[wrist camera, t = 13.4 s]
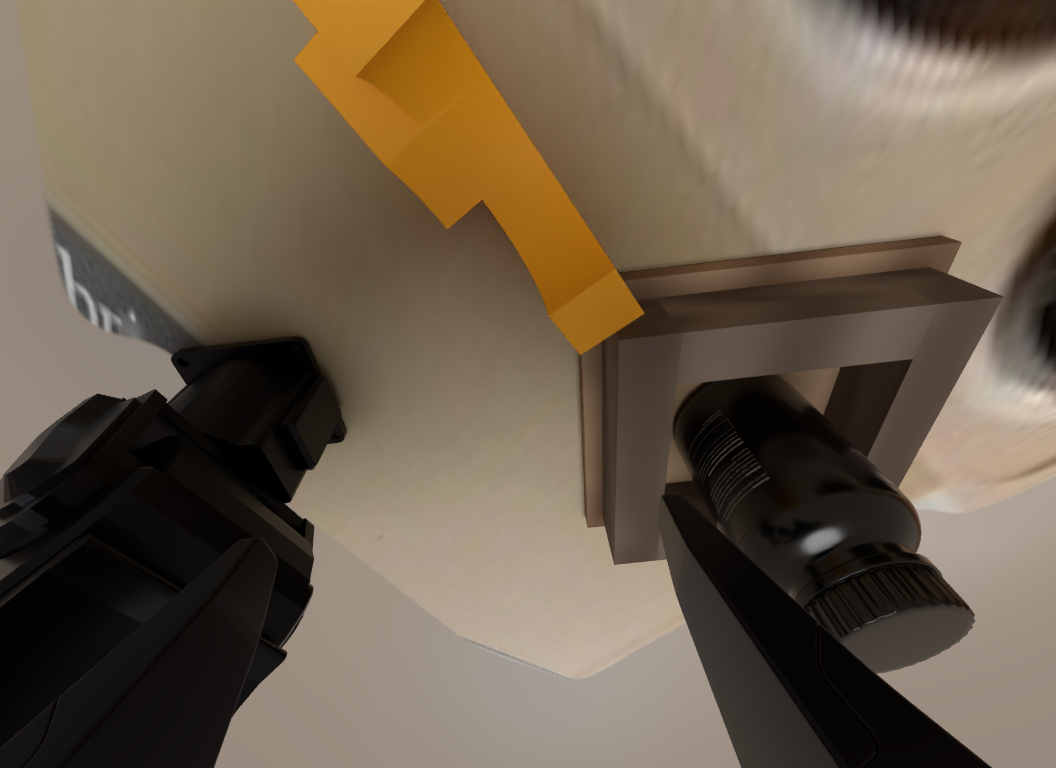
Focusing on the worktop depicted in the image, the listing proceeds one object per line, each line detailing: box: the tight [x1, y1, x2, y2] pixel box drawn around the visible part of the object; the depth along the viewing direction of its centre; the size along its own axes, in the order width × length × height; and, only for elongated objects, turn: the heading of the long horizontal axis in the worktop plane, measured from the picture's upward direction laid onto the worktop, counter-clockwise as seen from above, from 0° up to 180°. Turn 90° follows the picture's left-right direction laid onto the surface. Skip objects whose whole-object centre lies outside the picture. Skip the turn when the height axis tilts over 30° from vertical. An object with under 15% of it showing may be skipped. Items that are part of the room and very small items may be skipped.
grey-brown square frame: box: [579, 236, 1003, 565], centre depth 23 cm, size 17×17×4 cm
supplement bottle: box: [675, 375, 975, 674], centre depth 19 cm, size 7×7×12 cm
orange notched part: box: [293, 0, 644, 355], centre depth 15 cm, size 12×4×6 cm, turn 37°
